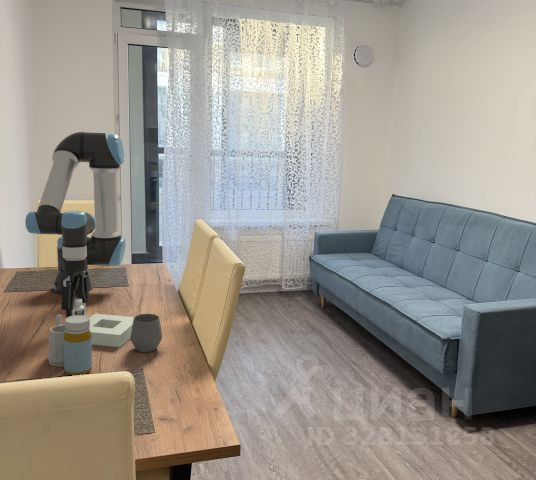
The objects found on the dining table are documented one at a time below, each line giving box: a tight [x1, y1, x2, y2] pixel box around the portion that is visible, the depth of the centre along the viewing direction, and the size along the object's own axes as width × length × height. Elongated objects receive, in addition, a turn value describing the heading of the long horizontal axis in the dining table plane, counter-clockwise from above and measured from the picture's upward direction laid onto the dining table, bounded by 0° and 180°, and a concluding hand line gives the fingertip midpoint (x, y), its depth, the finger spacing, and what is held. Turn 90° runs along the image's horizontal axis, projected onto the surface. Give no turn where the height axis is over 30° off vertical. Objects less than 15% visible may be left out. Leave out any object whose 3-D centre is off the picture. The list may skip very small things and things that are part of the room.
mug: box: [47, 313, 65, 368], centre depth 142 cm, size 8×12×12 cm, turn 29°
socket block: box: [89, 313, 135, 348], centre depth 162 cm, size 16×16×4 cm
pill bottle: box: [73, 297, 84, 315], centre depth 169 cm, size 5×5×9 cm
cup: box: [129, 313, 163, 353], centre depth 152 cm, size 10×9×10 cm
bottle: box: [63, 315, 93, 376], centre depth 135 cm, size 7×7×15 cm
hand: (76, 324), depth 169 cm, fingers open, 6 cm apart
